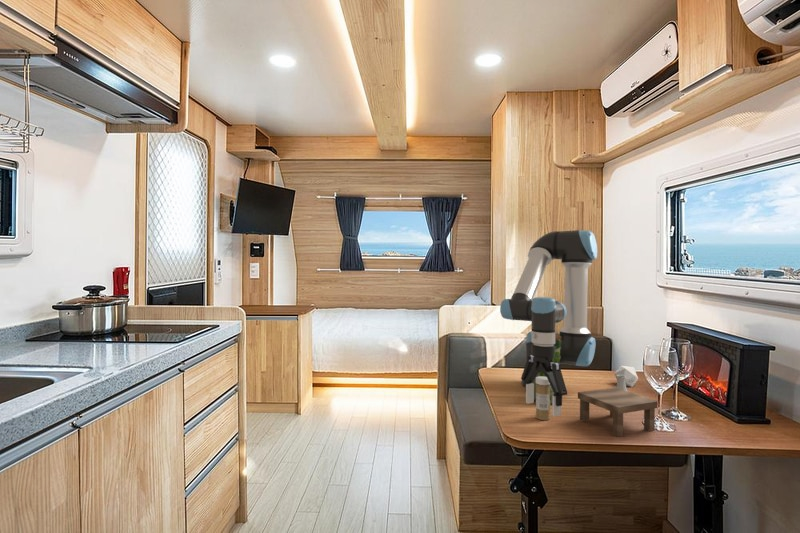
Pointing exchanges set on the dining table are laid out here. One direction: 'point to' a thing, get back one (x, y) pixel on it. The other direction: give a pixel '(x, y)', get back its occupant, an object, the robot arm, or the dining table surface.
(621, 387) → the flask
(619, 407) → the walnut stool
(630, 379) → the die
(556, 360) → the pouch
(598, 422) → the dining table surface
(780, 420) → the dining table surface
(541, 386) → the sprinkles bottle
